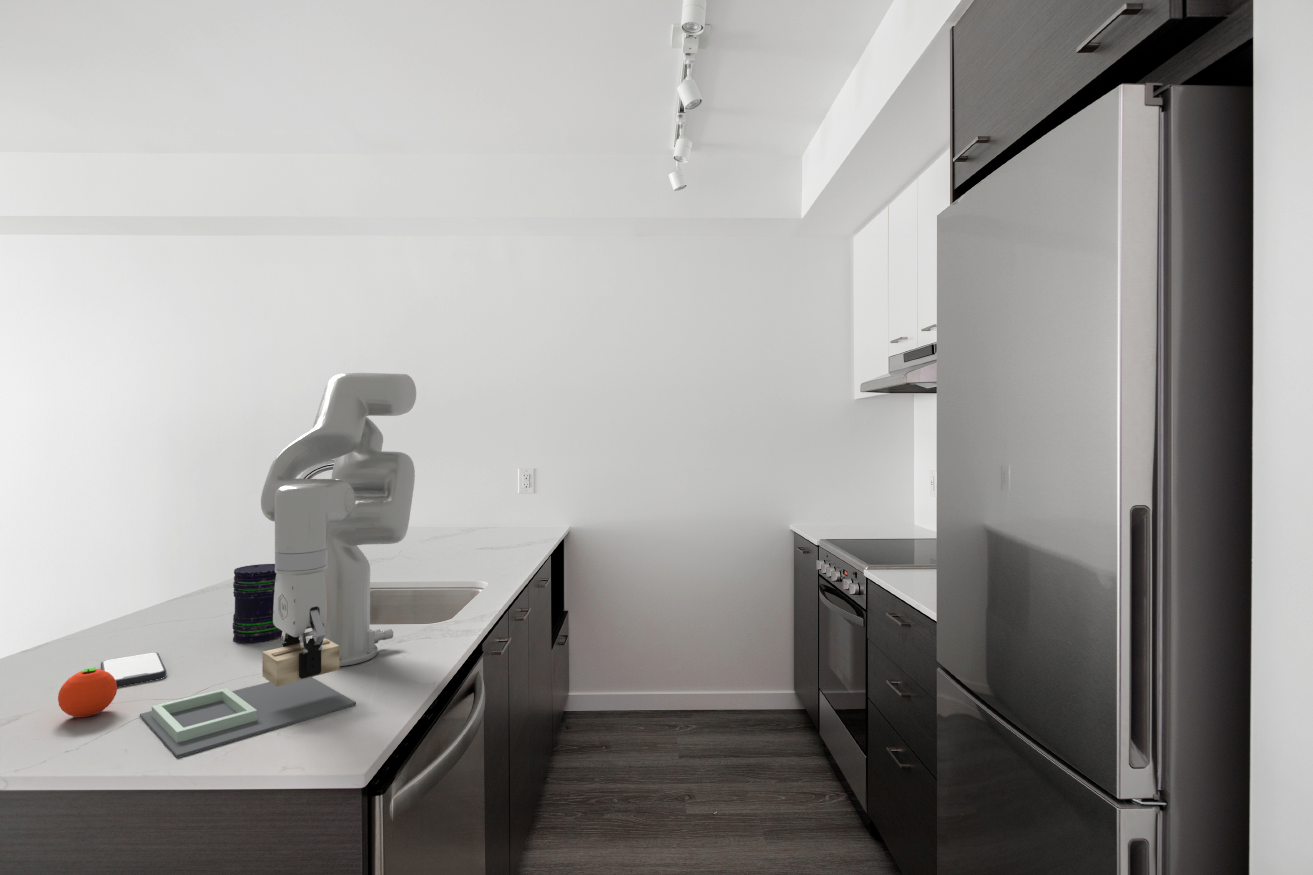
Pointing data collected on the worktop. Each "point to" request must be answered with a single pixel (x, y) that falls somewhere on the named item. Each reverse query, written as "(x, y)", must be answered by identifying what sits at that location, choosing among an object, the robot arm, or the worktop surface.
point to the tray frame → (181, 734)
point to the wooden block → (295, 662)
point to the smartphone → (135, 668)
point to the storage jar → (254, 604)
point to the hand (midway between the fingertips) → (301, 669)
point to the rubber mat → (272, 713)
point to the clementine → (87, 692)
